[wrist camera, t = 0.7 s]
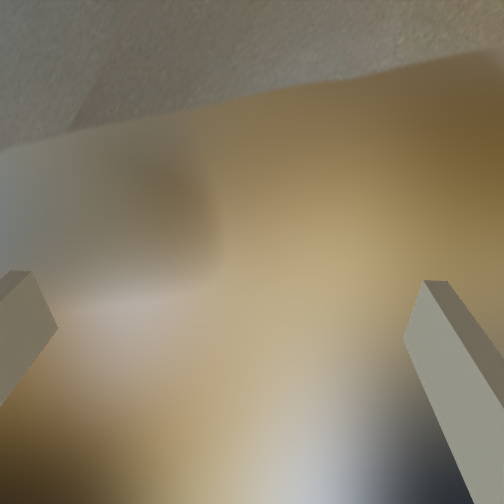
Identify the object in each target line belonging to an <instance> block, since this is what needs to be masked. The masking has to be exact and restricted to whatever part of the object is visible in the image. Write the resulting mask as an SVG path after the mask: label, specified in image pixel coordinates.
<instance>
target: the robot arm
mask: <svg viewBox="0 0 504 504" xmlns="http://www.w3.org/2000/svg"><path fill="white" fill-rule="evenodd" d="M57 329H58V327H57V325H56V323H55V321H54V318H53V316H52V314H51V312H50V309H49V307H48V305H47V303H46V301H45V299H44V296H43V294H42V292H41V290H40V288H39V285H38V283H37V281H36V279H35V277H34V275H33V272H32V271H9V272H8V273H7V274H6V275H5V276H4V277H3V278H1V279H0V407H1V405H2V404H3V403H4V401H5V400H6V399H7V397H8V396H9V394H10V393H11V392H12V390H13V389H14V388H15V386H16V385H17V384H18V382H19V381H20V380H21V378H22V377H23V376H24V374H25V373H26V371H27V370H28V369H29V367H30V366H31V365H32V363H33V362H34V361H35V359H36V358H37V357H38V355H39V354H40V352H41V351H42V350H43V348H44V347H45V346H46V344H47V343H48V341H49V340H50V339H51V337H52V336H53V335H54V333H55V332H56V330H57ZM403 341H404V343H405V346H406V348H407V350H408V352H409V355H410V357H411V360H412V362H413V364H414V366H415V369H416V371H417V373H418V376H419V378H420V380H421V382H422V385H423V387H424V389H425V392H426V394H427V396H428V399H429V401H430V403H431V405H432V408H433V410H434V412H435V414H436V417H437V419H438V421H439V424H440V426H441V428H442V431H443V433H444V435H445V437H446V440H447V442H448V444H449V447H450V449H451V451H452V453H453V456H454V458H455V460H456V462H457V465H458V467H459V470H460V472H461V474H462V476H463V479H464V481H465V483H466V486H467V488H468V490H469V492H470V495H471V497H472V499H473V501H474V504H504V358H503V357H502V356H501V354H500V353H499V351H498V350H497V349H496V347H495V346H494V345H493V343H492V342H491V340H490V339H489V338H488V336H487V335H486V334H485V332H484V331H483V329H482V328H481V327H480V325H479V324H478V323H477V321H476V320H475V318H474V317H473V316H472V314H471V313H470V312H469V310H468V309H467V307H466V306H465V305H464V303H463V302H462V300H461V299H460V298H459V296H458V295H457V294H456V292H455V291H454V290H453V288H452V287H451V285H450V284H449V283H448V281H427V280H424V281H423V282H422V285H421V288H420V291H419V294H418V297H417V300H416V303H415V305H414V308H413V311H412V314H411V317H410V320H409V323H408V326H407V328H406V331H405V334H404V337H403Z"/></svg>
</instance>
